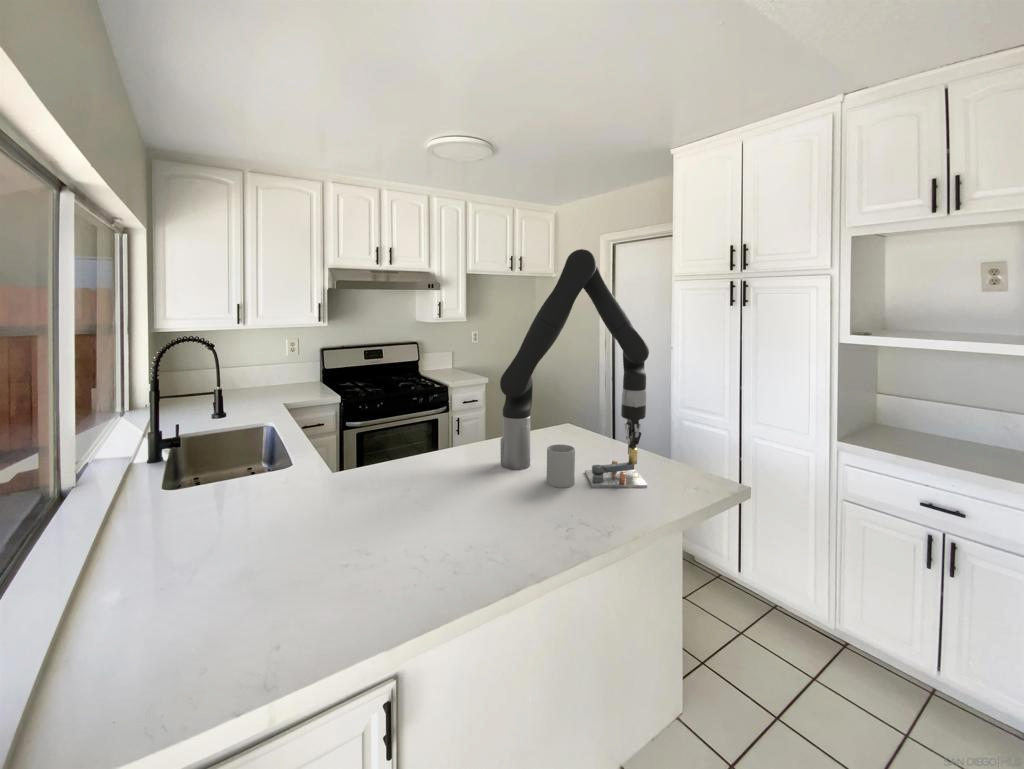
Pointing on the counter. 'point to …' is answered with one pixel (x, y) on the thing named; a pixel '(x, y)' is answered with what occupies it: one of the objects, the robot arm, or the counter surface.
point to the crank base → (615, 479)
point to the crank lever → (617, 467)
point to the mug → (560, 466)
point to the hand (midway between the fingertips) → (631, 455)
